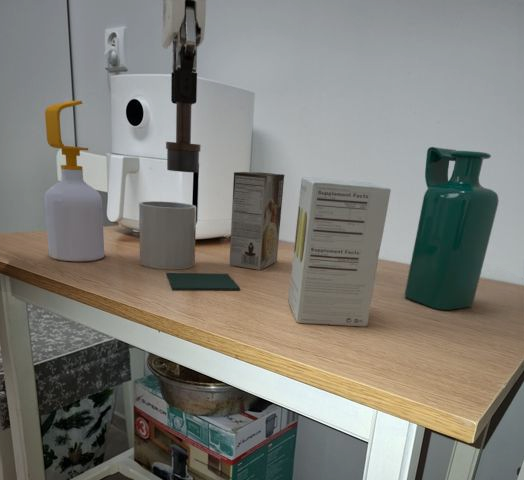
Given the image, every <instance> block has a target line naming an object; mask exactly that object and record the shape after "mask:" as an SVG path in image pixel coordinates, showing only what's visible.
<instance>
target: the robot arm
mask: <svg viewBox="0 0 524 480" xmlns="http://www.w3.org/2000/svg"><path fill="white" fill-rule="evenodd" d="M206 15H207V0H162V29H161V30H162V31H161V46H162V47H163V49H166V50H167V49H168V48H169V46H171V44H172V63H171V64H172V67H171V68H172V70H171V71H172V72H171V74H170V75H171V78H170V79H171V80H170V81H171V82H170V83H171V85H170V86H171V88H170V91H171V92H170V94H171V95H170V96H171V97H170V98H171V99H170V101H171V103H172V104H175V105H176V102H181V103H189V104H192V105H195V104H197V100H198V99H197V96H198V92H197V91H198V72H197V68H198V64H197V63H198V48H199V47H200V46H201V45H202V44H203V42H204V39H205V32H206Z"/></svg>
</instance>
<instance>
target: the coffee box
mask: <svg viewBox="0 0 524 480" xmlns="http://www.w3.org/2000/svg"><path fill="white" fill-rule="evenodd" d="M284 181H285V174H280V173H271V172H258V171H237V172H236V171H234V172H233V182H232V183H233V185H232V186H233V187H232V204H231V222H230V223H231V224H230V226H231V227H230V245H229V261H228V262H229V266H231V267H237V268H244V269H250V270H257V271H262V270H264V269H265V268H267V267H269V266H271V265H273V264H276V263H277V262H278V251H279V242H280V240H279V239H280V229H281V218H282V208H283V207H282V206H283V196H284V195H283V194H284V183H285V182H284Z"/></svg>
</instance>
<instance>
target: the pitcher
mask: <svg viewBox="0 0 524 480" xmlns="http://www.w3.org/2000/svg"><path fill="white" fill-rule="evenodd" d="M491 157H492V155H491V154H490V153H488V152H483V151H474V150H473V151H472V150H456V149H452V148H445V147H435V146H430V147H429V148H427V151H426V160H425V169H424V170H425V171H424V179H425V184H426V187H427V189H426V190H425V191H424V194H423V196H422V202H421V208H420V212H419V218H418V222H417V228H416V233H415V238H414V243H413V247H412V248H413V249H412V253H411V259H410V264H409V269H408V274H407V279H406V284H405V289H404V297H405V298H406V299H408V300H409V301H413V302H415V303H418V304H420V305H423V306H426V307H429V308H432V309H435V310H439V311H452V310H458V309H464V308H465V309H466V308H470V307H472V306H473V305H474V303H475V298H476V295H477V291H478V286H479V283H480V278H481V275H482V270H483V266H484V262H485V258H486V255H487V250H488V246H489V243H490V238H491V235H492V230H493V227H494V222H495V219H496V215H497V211H498V206H499V195H498V193H497V192H496V191H494V190H493V189H490V188H486V187H484V186H482V185H481V183H480V175H481V170H482V167H483V162H484V160H489V159H491ZM450 162H454V164H453V169H452V174H451V176H450V178H449V168H450Z"/></svg>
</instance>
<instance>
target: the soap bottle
mask: <svg viewBox="0 0 524 480" xmlns="http://www.w3.org/2000/svg"><path fill="white" fill-rule="evenodd" d="M82 104H83V100H68V101H64V102H59V103H54V104H50V105H49V106H47V107H46V108H45V110H44V120H45V131H46V132H45V133H46V142H47V144H48V145H49V147H51V148H54V149H61V155H62V156H65V164H61V165H60V175H61V179H60V180H59V181H58V182H57V183H55V184H53V185H52V186H50V187H49V188H48V190H46V191H45V194H44V196H43V201H44V202H43V203H44V212H45V213H44V214H45V225H46V235H47V247H48V255H49V257H50V258H52V259H54V260H57V261H62V262H73V263H85V262H94V261H98V260H101V259H102V258H104V257H105V235H104V211H103V199H102V196H101V193H100V192H98V190H96V189H95V188H94V187H92V186H91V185H89V184H88V183H87V182H86V181H85V180H84V169H83V166H82V165H78V157H80V156H81V151H89V147H81V146H69V145H64V143H63V140H62V133H61V119H60V117H61V112H62V110H65V109H67V108H71V107H75V106H78V105H79V106H80V105H82Z"/></svg>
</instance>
